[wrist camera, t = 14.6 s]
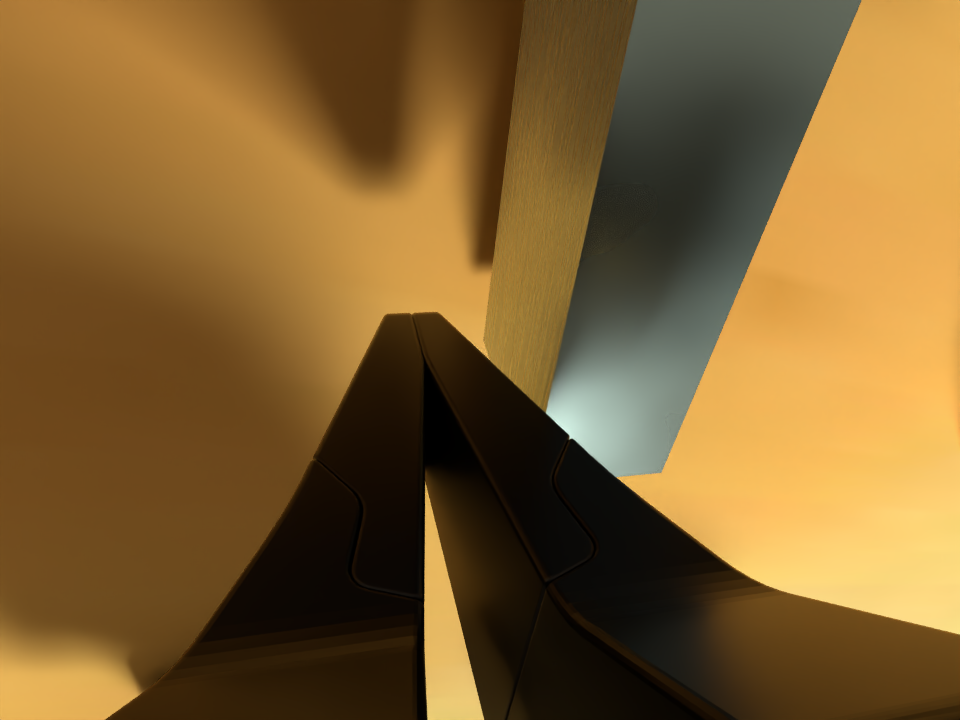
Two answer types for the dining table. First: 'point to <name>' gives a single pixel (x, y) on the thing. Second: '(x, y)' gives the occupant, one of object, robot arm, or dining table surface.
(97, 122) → the dining table surface
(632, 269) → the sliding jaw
